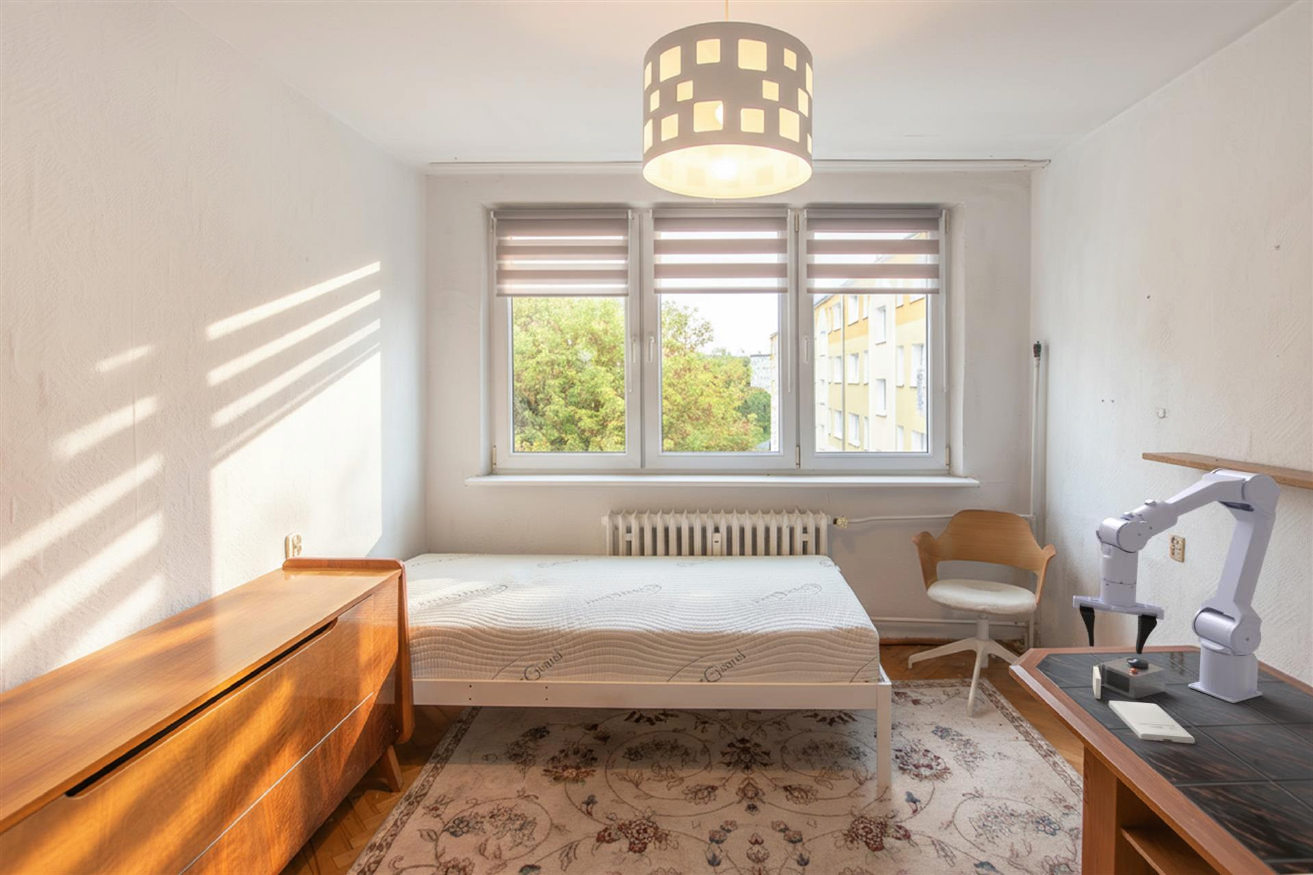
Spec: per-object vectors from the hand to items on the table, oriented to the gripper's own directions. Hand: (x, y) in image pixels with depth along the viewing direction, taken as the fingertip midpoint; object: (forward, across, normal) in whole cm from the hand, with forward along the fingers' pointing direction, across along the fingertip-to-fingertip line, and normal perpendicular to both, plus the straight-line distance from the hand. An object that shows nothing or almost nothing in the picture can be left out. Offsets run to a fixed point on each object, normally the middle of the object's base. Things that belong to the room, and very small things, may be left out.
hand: (1114, 648), depth 132 cm
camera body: (+10, +4, +6) cm, 12 cm away
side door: (+9, -2, +1) cm, 10 cm away
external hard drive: (+10, +5, -10) cm, 15 cm away
